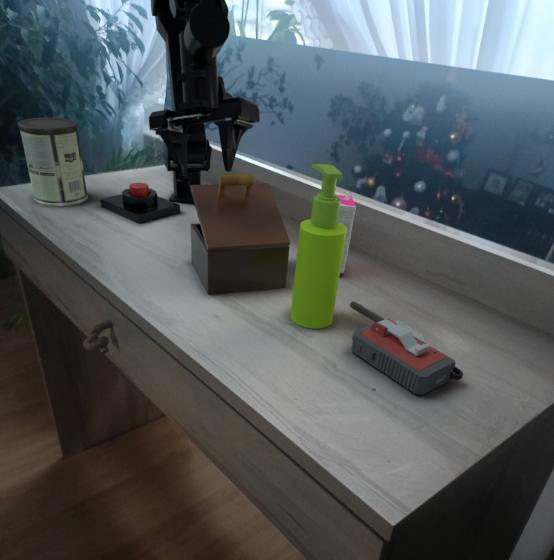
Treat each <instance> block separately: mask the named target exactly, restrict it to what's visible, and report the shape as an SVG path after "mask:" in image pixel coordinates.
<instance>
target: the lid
mask: <svg viewBox="0 0 554 560" xmlns="http://www.w3.org/2000/svg"><path fill="white" fill-rule="evenodd" d="M217 178H218V179H217V180H218V181H217V183H218V184H215V183H214V184H201V185H191V186H190V189H191V193H192V197H193V200H194V207H195V211H196V214H197V219H198V221H199V223H200V226H201V229H202V233H203V236H204V240H205V244H206V247H207V251H216V250H231V249H245V248H260V247H275V246H289V247H290V245H291V240H290V238H289V234H288V232H287V229H286V227H285V224H284V221H283V218H282V216H281V212H280V211H279V210H280V209H279V208H278V207H279V206H278V205H277V202H276V199H275V197H274V194H273V191H272V189H271V185H270V183H269V182H257V183H256V182H255V175H254V173H219V174H218V176H217Z"/></svg>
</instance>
